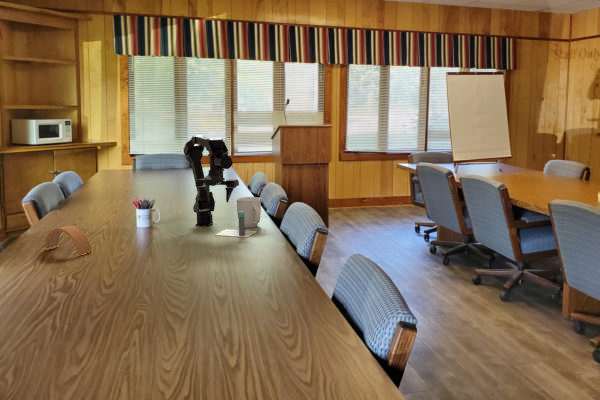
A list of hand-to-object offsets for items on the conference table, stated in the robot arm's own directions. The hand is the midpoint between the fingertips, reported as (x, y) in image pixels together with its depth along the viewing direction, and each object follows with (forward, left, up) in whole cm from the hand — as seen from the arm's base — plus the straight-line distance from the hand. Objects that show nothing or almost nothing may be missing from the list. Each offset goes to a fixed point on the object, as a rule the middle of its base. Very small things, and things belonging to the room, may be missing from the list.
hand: (217, 202), depth 243 cm
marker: (+14, -7, -13) cm, 20 cm away
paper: (+10, -4, -13) cm, 17 cm away
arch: (-43, -47, -13) cm, 65 cm away
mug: (+11, +10, -13) cm, 20 cm away
